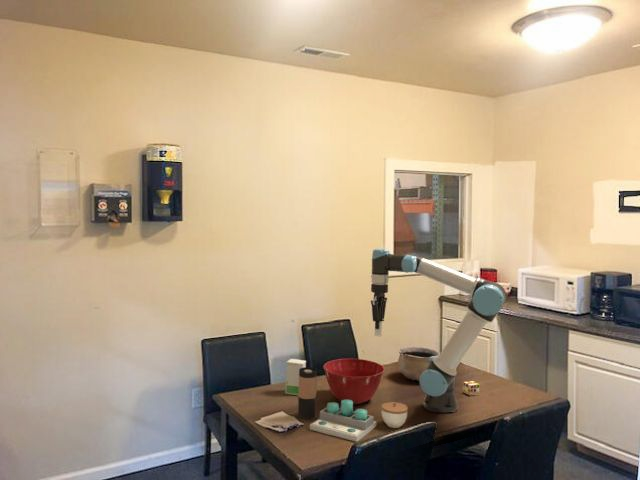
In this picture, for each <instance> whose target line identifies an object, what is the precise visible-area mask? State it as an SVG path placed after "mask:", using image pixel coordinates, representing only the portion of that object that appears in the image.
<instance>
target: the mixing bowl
mask: <svg viewBox="0 0 640 480" xmlns="http://www.w3.org/2000/svg"><path fill="white" fill-rule="evenodd" d="M322 368H323V370H324V374H325V377H326V381H327V384H328V386H329V388H330V391H331V393H332V395H333V396H334V397H335V398H336V399H338V400H339V401H340V402H341V401H342V400H352V401H353V405H361V404H364V403H366V402H368V401H369V400H371V399H372V398H373V397H374V395H375V394H376V392H377V390H378V389H379V386H380V383H381V381H382V378H383V375H384V372H385V367H384V366H383V365H382V364H380V363H378V362H376V361H371V360H368V359H362V358H361V359H360V358H339V359H334V360H333V359H332V360H331V361H330V360H329V361H327V362H326V363H325V364H324V365H323V367H322Z"/></svg>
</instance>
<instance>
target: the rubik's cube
mask: <svg viewBox="0 0 640 480" xmlns="http://www.w3.org/2000/svg"><path fill="white" fill-rule="evenodd" d="M480 387H481V385H480V383H477V382H476V381H474V380H470V381H463V386H462V391H463V390H464V391H466V392H468V393H476V392H479V393H480Z"/></svg>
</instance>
